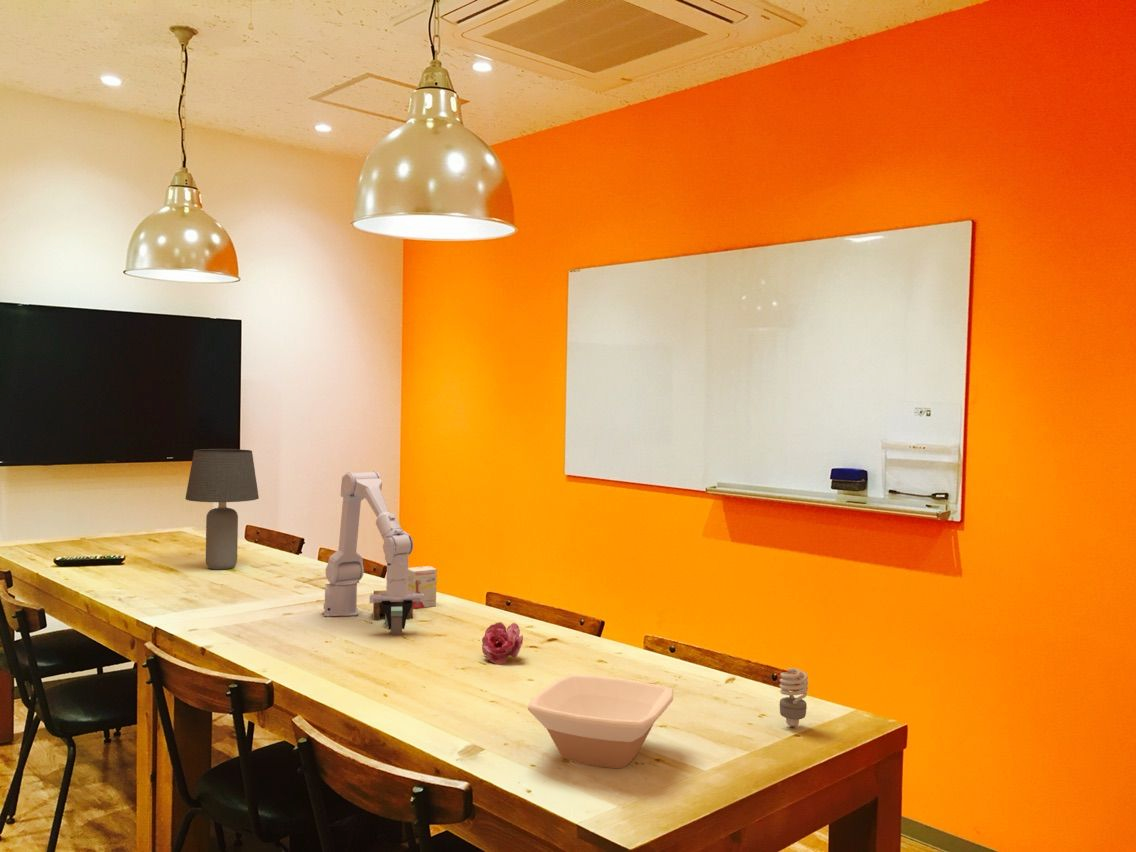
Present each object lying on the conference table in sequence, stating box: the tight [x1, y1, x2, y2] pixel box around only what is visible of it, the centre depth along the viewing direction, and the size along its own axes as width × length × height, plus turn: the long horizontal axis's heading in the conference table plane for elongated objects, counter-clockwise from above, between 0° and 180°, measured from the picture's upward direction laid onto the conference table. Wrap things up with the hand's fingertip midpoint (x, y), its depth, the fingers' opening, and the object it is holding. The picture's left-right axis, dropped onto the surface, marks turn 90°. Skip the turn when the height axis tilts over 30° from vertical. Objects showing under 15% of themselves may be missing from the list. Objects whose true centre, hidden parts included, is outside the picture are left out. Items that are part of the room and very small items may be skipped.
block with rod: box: [384, 607, 403, 636], centre depth 259 cm, size 5×14×4 cm, turn 13°
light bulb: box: [778, 667, 809, 728], centre depth 188 cm, size 6×6×12 cm
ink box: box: [408, 565, 438, 610], centre depth 287 cm, size 9×5×12 cm, turn 126°
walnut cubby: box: [372, 590, 414, 621], centre depth 273 cm, size 11×8×7 cm
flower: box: [481, 621, 524, 665], centre depth 231 cm, size 11×10×10 cm
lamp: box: [185, 448, 260, 571], centre depth 339 cm, size 25×25×43 cm
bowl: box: [527, 673, 674, 769], centre depth 172 cm, size 24×25×11 cm
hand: (396, 628), depth 253 cm, fingers closed on block with rod, 3 cm apart
